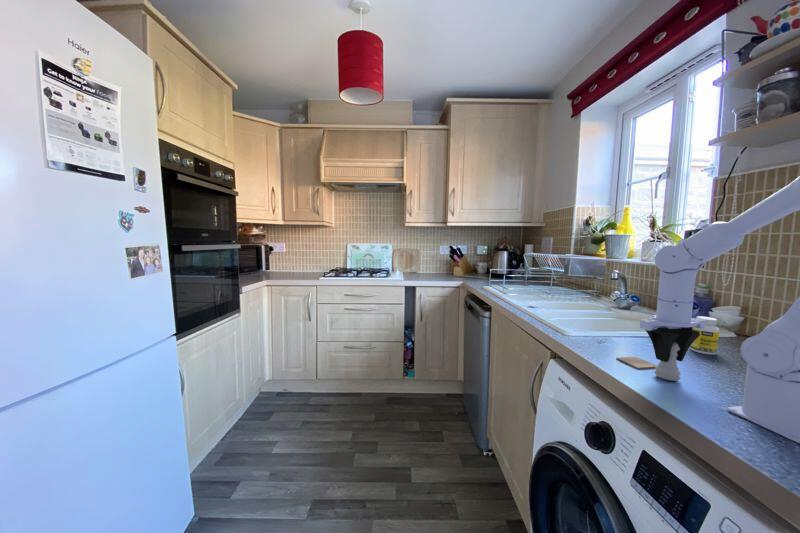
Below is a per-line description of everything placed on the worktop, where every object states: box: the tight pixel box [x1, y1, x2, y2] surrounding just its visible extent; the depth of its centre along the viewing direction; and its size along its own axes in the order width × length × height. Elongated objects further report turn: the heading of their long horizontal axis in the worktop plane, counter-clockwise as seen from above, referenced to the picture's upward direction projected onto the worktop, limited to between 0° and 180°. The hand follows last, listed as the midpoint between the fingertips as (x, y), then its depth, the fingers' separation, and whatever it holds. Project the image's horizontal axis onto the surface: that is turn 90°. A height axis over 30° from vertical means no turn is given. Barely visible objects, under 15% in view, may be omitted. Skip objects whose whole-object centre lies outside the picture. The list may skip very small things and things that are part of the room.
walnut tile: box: [615, 356, 658, 370], centre depth 74 cm, size 6×6×1 cm
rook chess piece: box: [653, 342, 681, 382], centre depth 65 cm, size 4×4×8 cm
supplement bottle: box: [689, 315, 720, 356], centre depth 82 cm, size 5×5×10 cm
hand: (669, 359), depth 65 cm, fingers closed on rook chess piece, 3 cm apart
